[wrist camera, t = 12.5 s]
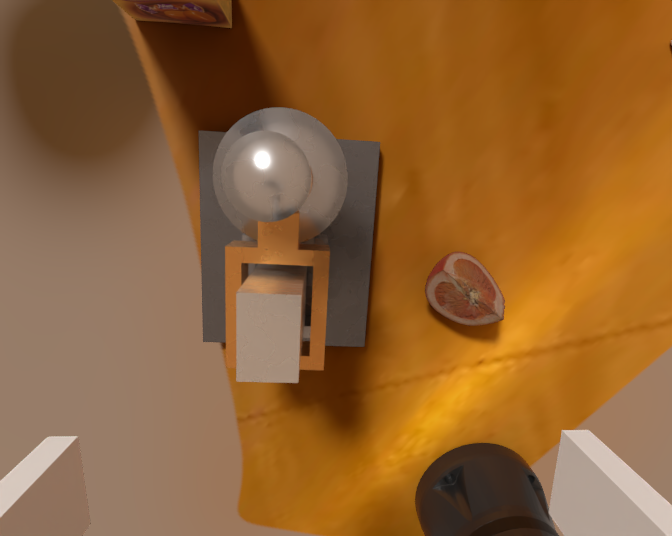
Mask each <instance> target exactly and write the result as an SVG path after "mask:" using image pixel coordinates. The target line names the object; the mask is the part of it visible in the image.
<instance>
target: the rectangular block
mask: <svg viewBox="0 0 672 536" xmlns="http://www.w3.org/2000/svg"><path fill="white" fill-rule="evenodd" d="M306 280H307V266H300V265H277V264H257V266H256V267H255V268H254V270H253V271H252V272H251V274H250V275H249V276H248V278H247V279H246V280H245V282H244V283H243V284H242V286H241V287H240V288H239V290H238V291H237V292H236V380H237V381H240V382H277V383H298V382H299V372H300V362H301V353H302V343H303V333H304V323H305V305H306Z"/></svg>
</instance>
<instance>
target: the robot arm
mask: <svg viewBox="0 0 672 536" xmlns="http://www.w3.org/2000/svg"><path fill="white" fill-rule="evenodd" d="M415 504H416V511H417V514H418V518H419V521H420V524H421V527H422V530H423V532H424V534H425V536H559V535H558V533H557V532H556V530H555V527H554V524H553V521H552V519H553V520H554V522H555V523H556V524H557V526H558V527H559V529H560V530H561V532H562V533H563V534H564V536H672V505H671V504H670V503H669V502H667V501H666V500H665V499H664V498H663V497H662V496H661V495H660V494H659V493H657V492H656V491H655V490H654V489H653V488H652V487H651V486H650V485H649V484H648V483H646V482H645V481H644V480H643V479H642V478H641V477H640V476H638V474H637V473H635V472H634V471H633V470H632V469H631V468H630V467H629V466H627V464H625V463H624V462H623V461H622V460H621V459H620V458H619V457H618V456H617V455H616V454H615V453H613V452H612V451H611V450H610V449H609V448H608V447H607V446H606V445H604V444H603V443H602V442H601V441H600V440H599V439H598V438H597V437H596V436H595V435H594V434H592V433H591V432H590V431H589V430H562V434H561V440H560V447H559V452H558V458H557V465H556V471H555V476H554V482H553V489H552V495H551V501H550V507H549V508H548V504H547V501H546V498H545V494H544V491H543V488H542V486H541V483H540V482H539V480H538V478H537V476H536V475H535V473H534V472H533V471H532V469H531V468H530V467H529V465H528V464H527V463H526V461H525V460H524V459H523V458H522V457H521V456H520V455H518V454H517V453H516V452H514V451H512V450H510V449H508V448H506V447H503V446H500V445H496V444H490V443H475V444H469V445H465V446H461V447H458V448H455V449H453V450H451V451H449V452H447V453H445V454H444V455H442V456H441V457H439V458H438V459H437V460H436V461H435V462H433V463H432V464H431V465H430V466H429V468H428V469H427V470H426V471H425V473H424V474H423V476H422V478H421V480H420V482H419V484H418V487H417V491H416V497H415ZM90 524H91V523H90V515H89V509H88V502H87V494H86V487H85V481H84V473H83V467H82V460H81V453H80V446H79V439H78V436H55V437H47V438H46V439H45V440H44V441H43V442H42V443H41V444H40V445H38V446H37V448H35V449H34V450H33V451H32V452H31V453H30V454H29V455H28V456H27V457H26V458H25V459H23V460H22V461H21V462H20V463H19V464H18V465H17V466H16V467H15V468H14V469H13V470H12V471H11V472H9V473H8V474H7V475H6V476H5V477H4V478H3V479H2V480H1V481H0V536H83V534H84V533H85V531H86V530H87V528H88V527H89V525H90Z"/></svg>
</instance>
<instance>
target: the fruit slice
mask: <svg viewBox="0 0 672 536" xmlns="http://www.w3.org/2000/svg"><path fill="white" fill-rule="evenodd" d="M425 293H426V298H427V300H428V301H429V303H430V305H431V306H432V307H433V308H434V309H435V310H436V311H437V312H439V313H440V314H441V315H443V316H445V317H446V318H448V319H450V320H452V321H454V322H457V323H460V324H464V325H486V324H490V323H495V322H498V321H501V320H504V309H505V306H504V303H505V300H504V297H503V295H502V293H501V291H500V289H499V287H498V285H497V284H496V282H495V281H494V279H493V278H492V276H491V275H490V273H489V272H488V271H487V270H486V268H485V267H484V266H483V265H482V264H481V263H480V262H479V261H478V260H477V259H475V258H474V257H473V256H471V255H469V254H467V253H463V252H453V253H450V254H448V255H447V256H445V257H444V258H443V259H441V260H440V261H439V262H438V263H437V264H436V266H435V267H434V268H433V270H432V272H431V273H430V275H429V276H428V279H427V283H426V287H425Z"/></svg>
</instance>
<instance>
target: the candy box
mask: <svg viewBox="0 0 672 536" xmlns="http://www.w3.org/2000/svg"><path fill="white" fill-rule="evenodd" d="M112 1H114V2H115V3H116V4H117V5H118V6H119V7H121V8H122V9H123V10H124V11H125V12H126V13H128V14H129V15H130V16H131V17H132V18H134V19H135V20H140V21H156V22H170V23H182V24H193V25H203V26H216V27H225V28H232V0H112Z"/></svg>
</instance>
